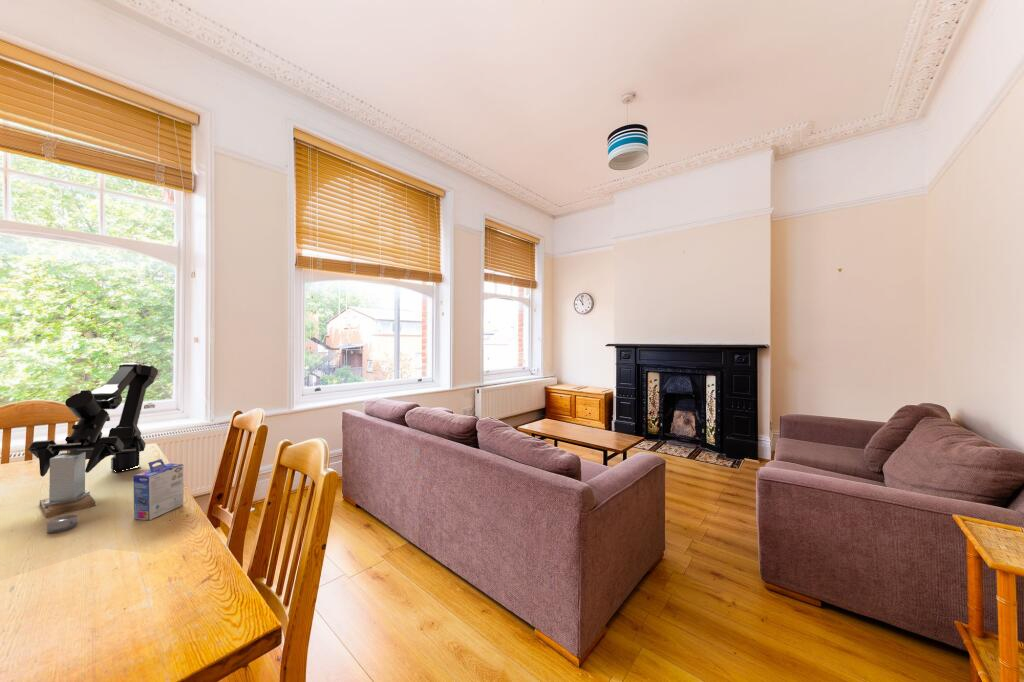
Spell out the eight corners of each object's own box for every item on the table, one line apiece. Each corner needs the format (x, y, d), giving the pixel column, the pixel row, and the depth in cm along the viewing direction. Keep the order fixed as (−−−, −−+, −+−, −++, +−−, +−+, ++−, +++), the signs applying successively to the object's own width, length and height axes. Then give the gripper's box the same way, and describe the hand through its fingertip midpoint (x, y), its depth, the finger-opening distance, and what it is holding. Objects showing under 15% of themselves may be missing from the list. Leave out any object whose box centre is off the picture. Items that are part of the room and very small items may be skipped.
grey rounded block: (75, 522, 100) (75, 513, 100) (79, 528, 97) (79, 518, 97) (45, 530, 96) (45, 520, 96) (48, 536, 93) (48, 526, 93)
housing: (59, 496, 110) (60, 452, 110) (89, 493, 113) (90, 450, 113) (43, 506, 104) (44, 459, 104) (75, 502, 107) (76, 457, 107)
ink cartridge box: (168, 503, 112) (168, 455, 112) (184, 504, 111) (185, 456, 111) (131, 519, 102) (132, 466, 102) (149, 521, 101) (150, 467, 101)
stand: (86, 493, 116) (86, 489, 116) (95, 505, 109) (95, 500, 109) (39, 504, 109) (39, 499, 109) (46, 517, 101) (46, 512, 101)
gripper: (138, 437, 126) (119, 482, 116) (60, 442, 119) (33, 490, 109) (125, 419, 119) (104, 465, 109) (42, 422, 112) (11, 472, 102)
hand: (64, 473), depth 107 cm, fingers open, 9 cm apart
